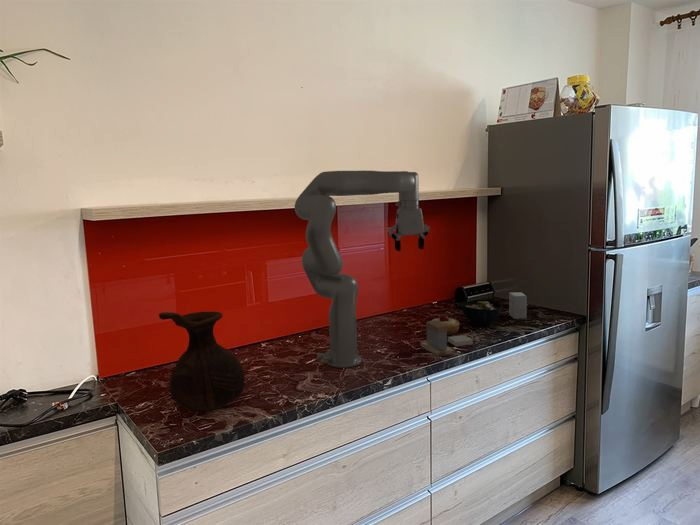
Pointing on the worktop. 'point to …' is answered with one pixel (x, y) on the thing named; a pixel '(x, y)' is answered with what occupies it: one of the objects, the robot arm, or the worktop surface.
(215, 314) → the jug
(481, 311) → the bowl
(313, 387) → the worktop surface
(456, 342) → the tile
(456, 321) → the pastry
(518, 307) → the small box
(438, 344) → the brown rectangular block
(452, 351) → the board
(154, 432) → the worktop surface
